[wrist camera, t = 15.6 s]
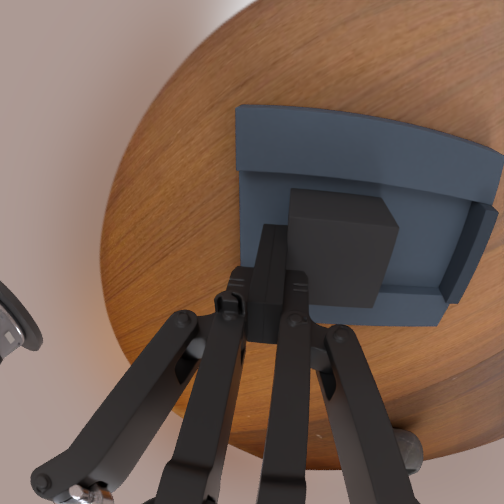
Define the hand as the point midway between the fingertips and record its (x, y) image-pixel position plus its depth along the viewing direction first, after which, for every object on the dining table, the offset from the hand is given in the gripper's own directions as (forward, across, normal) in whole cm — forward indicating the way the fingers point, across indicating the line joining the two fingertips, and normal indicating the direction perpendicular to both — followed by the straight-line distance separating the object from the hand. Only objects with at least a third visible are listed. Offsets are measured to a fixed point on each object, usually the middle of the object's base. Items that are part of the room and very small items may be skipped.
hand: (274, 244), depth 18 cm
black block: (+2, +4, 0) cm, 4 cm away
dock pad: (+3, +6, 0) cm, 7 cm away
